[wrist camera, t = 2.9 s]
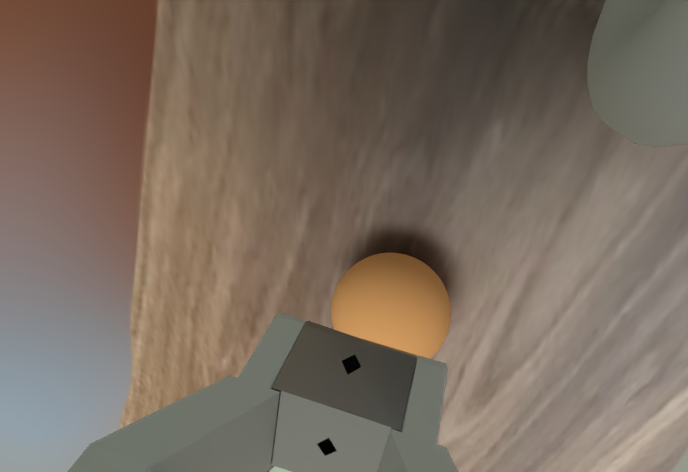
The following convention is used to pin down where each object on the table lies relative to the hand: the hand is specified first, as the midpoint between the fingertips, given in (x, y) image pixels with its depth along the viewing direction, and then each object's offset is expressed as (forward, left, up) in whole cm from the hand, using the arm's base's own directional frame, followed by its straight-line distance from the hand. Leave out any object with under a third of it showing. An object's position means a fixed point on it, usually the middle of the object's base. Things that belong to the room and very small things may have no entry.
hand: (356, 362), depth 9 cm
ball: (+9, 0, -12) cm, 15 cm away
